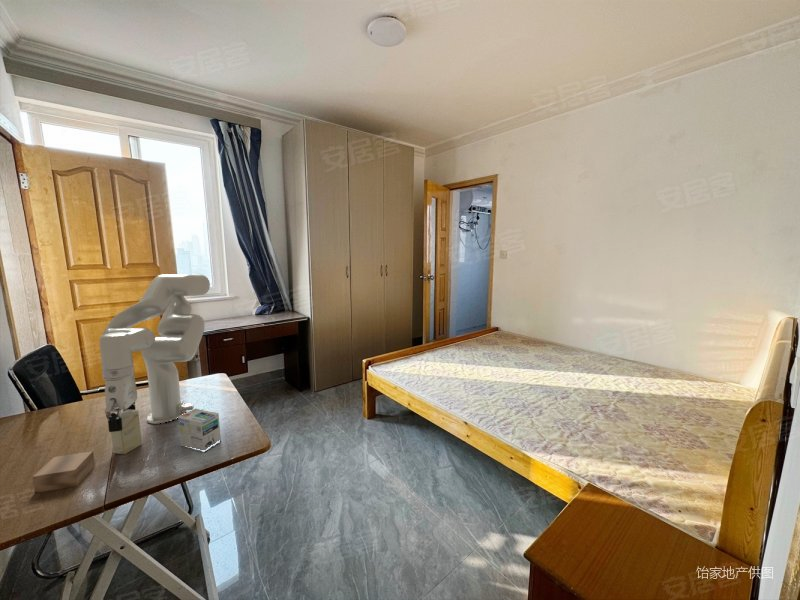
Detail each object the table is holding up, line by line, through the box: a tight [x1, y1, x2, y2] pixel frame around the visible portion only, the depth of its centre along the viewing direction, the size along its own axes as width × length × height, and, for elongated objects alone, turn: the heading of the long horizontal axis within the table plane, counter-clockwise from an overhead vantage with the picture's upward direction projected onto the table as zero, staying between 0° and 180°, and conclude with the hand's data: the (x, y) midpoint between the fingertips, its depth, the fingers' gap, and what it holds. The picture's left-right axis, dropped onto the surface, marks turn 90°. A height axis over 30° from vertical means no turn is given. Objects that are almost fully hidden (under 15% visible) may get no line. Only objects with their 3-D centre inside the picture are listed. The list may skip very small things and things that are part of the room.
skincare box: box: [110, 409, 143, 455], centre depth 108 cm, size 6×4×12 cm
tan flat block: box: [32, 451, 96, 493], centre depth 94 cm, size 9×9×5 cm
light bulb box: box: [177, 408, 222, 450], centre depth 110 cm, size 11×7×11 cm, turn 71°
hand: (123, 423), depth 107 cm, fingers open, 9 cm apart
